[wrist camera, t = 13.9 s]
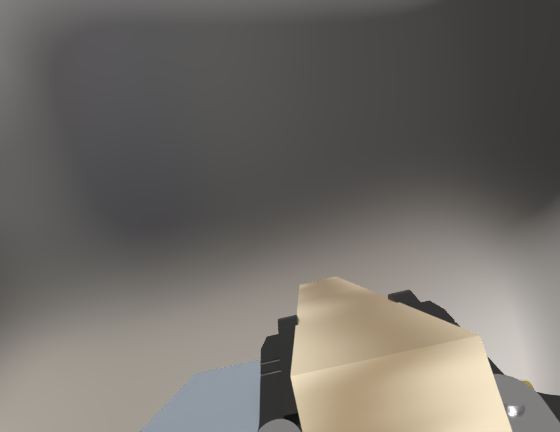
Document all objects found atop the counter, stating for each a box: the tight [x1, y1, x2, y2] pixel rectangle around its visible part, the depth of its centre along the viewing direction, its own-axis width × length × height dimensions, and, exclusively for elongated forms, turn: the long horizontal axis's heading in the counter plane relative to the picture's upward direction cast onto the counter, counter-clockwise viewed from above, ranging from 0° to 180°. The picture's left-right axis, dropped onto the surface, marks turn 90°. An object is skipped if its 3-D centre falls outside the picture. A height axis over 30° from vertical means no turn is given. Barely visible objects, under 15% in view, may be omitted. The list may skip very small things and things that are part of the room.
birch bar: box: [290, 277, 512, 432], centre depth 16 cm, size 4×22×4 cm, turn 176°
